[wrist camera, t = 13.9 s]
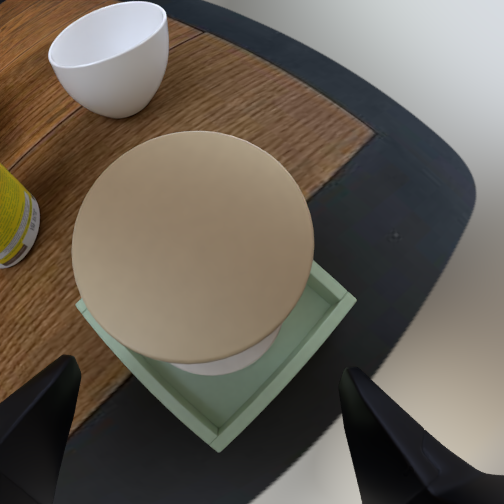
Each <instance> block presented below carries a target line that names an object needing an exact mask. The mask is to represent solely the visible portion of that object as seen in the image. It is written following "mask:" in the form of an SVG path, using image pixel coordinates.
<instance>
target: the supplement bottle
mask: <svg viewBox="0 0 504 504" xmlns="http://www.w3.org/2000/svg"><path fill="white" fill-rule="evenodd" d="M39 224H40V212H39V207H38V204H37V201H36V199H35V198H34V197H33V195H32V194H31V193H30V192H29V191H28V190H27V189H26V188H25V187H24V186H23V185H22V184H21V183H20V182H19V181H18V180H17V179H16V178H15V177H14V176H13V175H12V174H11V173H10V172H9V171H8V170H7V169H6V168H5V167H4V166H3V165H2V164H1V163H0V268H8V267H11V266H13V265H15V264H17V263H18V262H19V261H21V260H22V259H23V258H24V257H25V256H26V254H27V253H28V252H29V250H30V249H31V247H32V246H33V244H34V241H35V239H36V236H37V233H38V229H39Z"/></svg>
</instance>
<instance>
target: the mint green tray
mask: <svg viewBox="0 0 504 504" xmlns="http://www.w3.org/2000/svg"><path fill="white" fill-rule="evenodd" d="M356 301H357V299H356V298H355V297H353V296H352V295H351V294H350V293H349V292H347V290H346V289H345V288H344V287H342V286H341V285H340V284H339V283H338V282H337V281H336V280H335V279H334V278H332V277H331V276H330V275H329V274H328V273H327V272H326V271H325V270H324V269H322V268H321V267H320V266H319V265H318V264H317V263H316V262H315V261H313V263H312V267H311V271H310V276H309V279H308V281H307V284H306V286H305V289H304V292H303V293H302V295H301V297H300V299H299V301H298V302H297V304H296V306H295V308H294V309H293V310H292V311H291V313H290V314H289V315H288V317H287V318H286V319H285V321H284V322H283V323H282V326H281V329H280V331H279V333H278V336H277V337H276V339H275V341H274V342H273V344H272V345H271V346H270V348H269V349H268V350H267V351H266V352H265V353H264V354H263V355H262V356H261V357H260V358H259V359H258V360H256V361H255V362H254V363H252V364H251V365H249V366H247V367H245V368H243V369H241V370H239V371H236V372H233V373H229V374H225V375H216V376H206V375H198V374H193V373H190V372H187V371H184V370H181V369H179V368H177V367H175V366H173V365H172V364H170V363H168V362H163V361H159V360H154V359H151V358H148V357H146V356H143V355H140V354H138V353H136V352H134V351H132V350H130V349H129V348H127V347H125V346H123V345H122V344H120V343H119V342H118V341H116V340H115V339H114V338H112V337H111V336H110V335H109V334H108V333H107V332H106V331H105V330H104V329H103V328H102V327H101V326H100V325H99V324H98V323H97V322H96V320H95V319H94V318H93V316H92V315H91V313H90V312H89V311H88V309H87V307H86V305H85V303H84V301H83V299H82V298H81V299H80V300H79V301H78V302H77V303H76V307H77V308H78V310H79V311H80V312H81V313H82V314H83V316H84V317H85V319H86V320H87V321H88V322H89V324H90V325H91V326H92V327H93V329H94V330H95V331H96V332H97V334H98V335H99V336H100V337H101V338H102V340H103V341H104V342H105V343H106V344H107V345H108V347H109V348H110V349H111V350H112V351H113V352H114V353H115V355H116V356H117V357H118V358H119V359H120V360H121V361H122V362H123V363H124V365H125V366H126V367H127V368H128V369H129V370H130V371H131V372H132V373H133V374H134V375H135V376H136V377H137V379H138V380H139V381H140V382H141V383H142V384H143V385H144V386H145V387H146V388H147V389H148V390H149V391H150V392H151V393H152V394H153V395H154V396H155V397H156V398H157V399H158V400H159V401H160V402H161V403H162V404H163V405H164V406H165V407H167V408H168V409H169V410H170V411H171V412H172V413H173V414H174V415H175V416H176V417H177V418H178V419H179V420H181V421H182V422H183V423H184V424H185V425H186V426H187V427H188V428H189V429H191V430H192V431H193V432H194V433H195V434H196V435H198V436H199V437H200V438H201V439H202V440H203V441H205V442H206V443H207V444H209V445H210V446H211V447H212V448H213V449H214V450H216V451H217V452H221V451H222V450H223V449H224V448H225V447H226V446H227V445H228V444H229V443H230V442H231V441H232V440H234V439H235V438H236V437H237V436H238V435H239V434H240V433H241V432H242V431H243V430H244V429H245V428H246V427H247V426H248V425H249V424H250V423H251V422H252V421H253V420H254V419H255V418H256V417H257V416H258V415H259V414H260V413H261V412H262V411H263V410H264V409H265V408H266V406H267V405H268V404H269V403H270V402H271V401H272V400H273V399H274V398H275V397H276V396H277V395H278V394H279V393H280V392H281V391H282V389H283V388H284V387H285V386H286V385H287V384H288V383H289V382H290V381H291V380H292V378H293V377H294V376H295V375H296V374H297V373H298V372H299V371H300V369H301V368H302V367H303V366H304V365H305V364H306V363H307V361H308V360H309V359H310V358H311V357H312V356H313V354H314V353H315V352H316V351H317V350H318V349H319V347H320V346H321V345H322V344H323V343H324V341H325V340H326V339H327V338H328V337H329V335H330V334H331V333H332V332H333V330H334V329H335V328H336V327H337V325H338V324H339V323H340V322H341V320H342V319H343V318H344V317H345V315H346V314H347V313H348V312H349V310H350V309H351V308H352V306H353V305H354V304H355V302H356Z"/></svg>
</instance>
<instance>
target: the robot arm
mask: <svg viewBox="0 0 504 504" xmlns="http://www.w3.org/2000/svg"><path fill="white" fill-rule="evenodd" d="M80 382H81V371H80V369H79V366H78V364H77V362H76V359H75V357H74V356H71V355H65V354H64V355H62V356H60V357H59V358H58V359H56V360H55V361H54V362H52V363H51V364H50V365H48V366H47V367H46V368H45V369H43V370H42V371H41V372H39V373H38V374H37V375H36V376H34V377H33V378H32V379H30V380H29V381H28V382H27V383H25V384H24V385H23V386H22V387H20V388H19V389H18V390H16V391H15V392H14V393H13V394H11V395H10V396H9V397H8V398H6V399H5V400H4V401H3V402H1V403H0V504H53V499H54V494H55V489H56V484H57V480H58V475H59V471H60V466H61V462H62V458H63V454H64V450H65V446H66V442H67V439H68V435H69V431H70V428H71V424H72V421H73V417H74V413H75V408H76V402H77V397H78V392H79V387H80ZM339 394H340V401H341V409H342V416H343V424H344V429H345V434H346V438H347V442H348V446H349V449H350V453H351V457H352V462H353V466H354V470H355V474H356V478H357V482H358V486H359V491H360V495H361V500H362V504H504V475H492V474H486V473H483V472H481V471H479V470H477V469H475V468H474V467H472V466H471V465H469V464H468V463H467V462H465V461H464V460H462V459H461V458H460V457H458V456H457V455H455V454H454V453H453V452H451V451H450V450H448V449H447V448H446V447H445V446H443V445H442V444H441V443H440V442H439V441H437V440H436V439H435V438H434V437H433V436H432V435H430V434H429V433H428V432H427V431H426V430H424V428H423V427H422V426H421V425H420V424H418V423H417V422H416V421H415V420H414V419H413V418H412V417H411V416H410V415H409V414H408V413H407V412H405V411H404V410H403V409H402V408H401V407H400V406H399V405H398V404H397V403H396V402H395V401H394V400H392V399H391V398H390V397H389V396H388V395H387V394H386V393H385V392H384V391H383V390H382V389H381V388H379V386H377V385H376V384H375V383H374V382H373V381H372V380H371V379H370V378H369V377H368V376H367V375H366V374H365V373H364V372H362V371H361V370H360V369H359V368H358V367H347V368H345V370H344V372H343V375H342V377H341V380H340V383H339Z"/></svg>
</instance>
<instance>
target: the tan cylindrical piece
mask: <svg viewBox="0 0 504 504" xmlns="http://www.w3.org/2000/svg"><path fill="white" fill-rule="evenodd" d="M313 255H314V229H313V224H312V219H311V214H310V211H309V209H308V206H307V203H306V200H305V198H304V196H303V194H302V192H301V190H300V188H299V186H298V185H297V183H296V182H295V180H294V179H293V178H292V176H291V175H290V174H289V172H288V171H287V170H286V169H285V168H284V167H283V166H282V165H281V164H280V163H279V162H278V161H277V160H276V159H275V158H273V157H272V156H271V155H270V154H268V153H267V152H265V151H264V150H262V149H261V148H259V147H257V146H255V145H253V144H251V143H249V142H247V141H245V140H243V139H240V138H237V137H234V136H231V135H227V134H222V133H217V132H209V131H186V132H177V133H172V134H167V135H163V136H160V137H157V138H154V139H151V140H149V141H146V142H144V143H142V144H140V145H138V146H136V147H134V148H133V149H131V150H129V151H128V152H126V153H125V154H123V155H122V156H121V157H119V158H118V159H117V160H115V161H114V162H113V163H112V164H111V165H110V166H109V167H108V168H107V169H106V170H105V171H104V172H103V173H102V174H101V175H100V176H99V178H98V179H97V180H96V181H95V183H94V184H93V186H92V187H91V189H90V190H89V192H88V193H87V195H86V197H85V199H84V201H83V203H82V205H81V207H80V210H79V213H78V216H77V219H76V222H75V227H74V232H73V239H72V265H73V270H74V275H75V280H76V284H77V287H78V289H79V292H80V295H81V297H82V299H83V301H84V303H85V305H86V307H87V309H88V311H89V312H90V313H91V315H92V316H93V318H94V319H95V320H96V322H97V323H98V324H99V325H100V326H101V327H102V328H103V329H104V330H105V331H106V332H107V333H108V334H109V335H110V336H111V337H112V338H114V339H115V340H116V341H118V342H119V343H120V344H122V345H123V346H125V347H127V348H129V349H130V350H132V351H134V352H136V353H138V354H140V355H143V356H146V357H148V358H151V359H154V360H159V361H163V362H168V363H170V364H172V365H173V366H175V367H177V368H179V369H181V370H184V371H187V372H190V373H193V374H198V375H206V376H216V375H225V374H229V373H233V372H236V371H239V370H241V369H243V368H245V367H247V366H249V365H251V364H252V363H254V362H255V361H256V360H258V359H259V358H260V357H261V356H262V355H263V354H264V353H265V352H266V351H267V350H268V349H269V348H270V346H271V345H272V344H273V342H274V341H275V339H276V337H277V336H278V333H279V331H280V329H281V326H282V323H283V322H284V321H285V319H286V318H287V317H288V315H289V314H290V313H291V311H292V310H293V309H294V308H295V306H296V304H297V302H298V301H299V299H300V297H301V295H302V293H303V292H304V289H305V286H306V284H307V281H308V279H309V276H310V271H311V267H312V263H313Z"/></svg>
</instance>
